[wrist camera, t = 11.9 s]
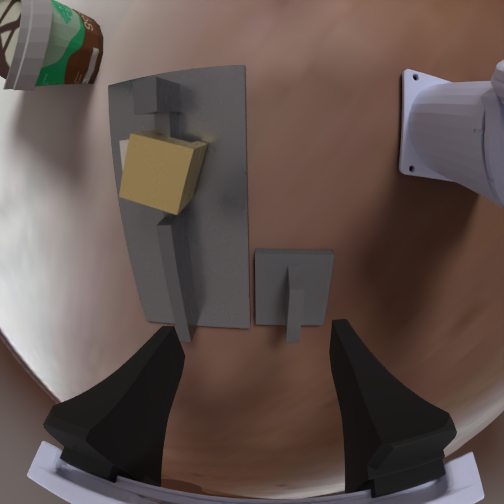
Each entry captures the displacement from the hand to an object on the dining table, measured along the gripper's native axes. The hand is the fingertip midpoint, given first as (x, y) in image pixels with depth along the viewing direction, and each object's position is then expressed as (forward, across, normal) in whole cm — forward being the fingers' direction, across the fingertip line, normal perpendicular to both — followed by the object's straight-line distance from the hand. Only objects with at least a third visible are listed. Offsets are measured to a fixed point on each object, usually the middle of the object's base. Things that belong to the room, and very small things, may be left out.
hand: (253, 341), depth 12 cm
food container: (+11, +13, -20) cm, 26 cm away
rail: (+10, +6, -4) cm, 12 cm away
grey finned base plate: (+10, -2, +4) cm, 11 cm away
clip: (+9, +5, -7) cm, 13 cm away
